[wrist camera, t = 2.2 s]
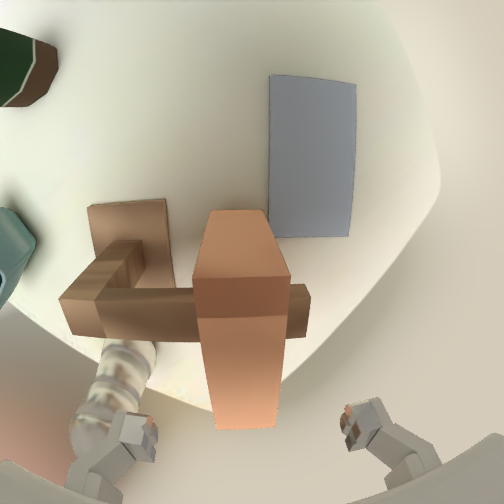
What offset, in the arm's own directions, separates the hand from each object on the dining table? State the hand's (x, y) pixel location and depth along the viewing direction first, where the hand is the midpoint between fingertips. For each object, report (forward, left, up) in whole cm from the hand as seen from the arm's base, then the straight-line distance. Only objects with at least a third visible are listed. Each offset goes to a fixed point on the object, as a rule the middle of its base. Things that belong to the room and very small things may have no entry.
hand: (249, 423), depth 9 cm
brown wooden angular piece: (0, -5, -18) cm, 19 cm away
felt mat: (-9, +7, -18) cm, 22 cm away
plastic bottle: (+12, -13, -19) cm, 26 cm away
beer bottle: (-21, -22, -19) cm, 36 cm away
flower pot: (-2, -27, -19) cm, 33 cm away
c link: (+1, 0, -15) cm, 15 cm away
